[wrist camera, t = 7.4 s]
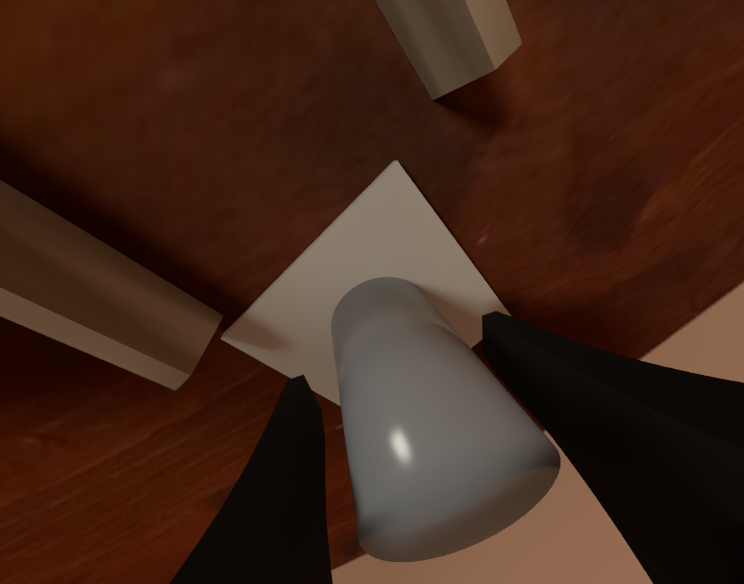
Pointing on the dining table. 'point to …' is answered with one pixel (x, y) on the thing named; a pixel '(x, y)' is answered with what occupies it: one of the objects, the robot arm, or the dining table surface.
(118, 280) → the frame
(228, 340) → the coaster
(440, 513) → the grey domed cylinder
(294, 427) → the robot arm
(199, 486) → the dining table surface
